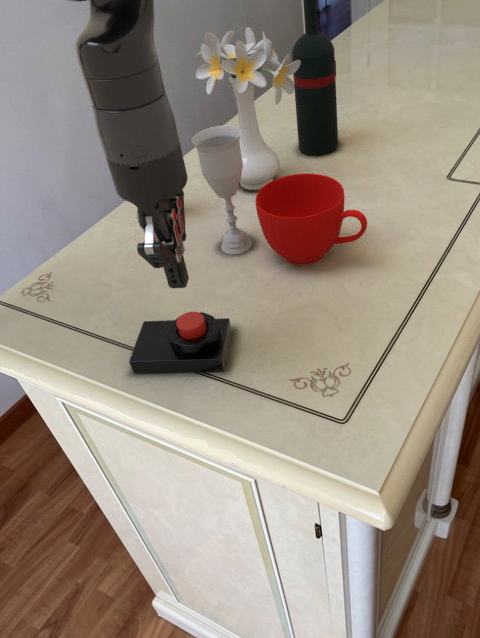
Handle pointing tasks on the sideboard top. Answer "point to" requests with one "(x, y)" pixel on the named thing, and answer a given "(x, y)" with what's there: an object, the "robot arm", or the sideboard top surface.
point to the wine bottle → (315, 88)
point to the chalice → (223, 176)
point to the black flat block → (181, 348)
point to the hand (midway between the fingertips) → (179, 284)
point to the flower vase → (248, 94)
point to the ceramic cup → (304, 216)
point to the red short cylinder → (191, 325)
